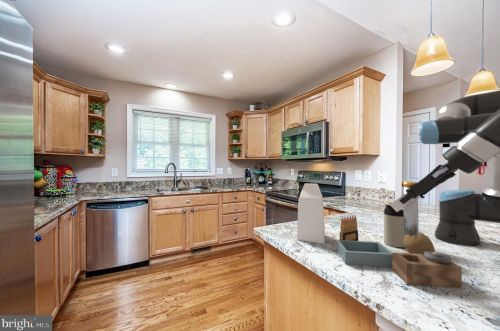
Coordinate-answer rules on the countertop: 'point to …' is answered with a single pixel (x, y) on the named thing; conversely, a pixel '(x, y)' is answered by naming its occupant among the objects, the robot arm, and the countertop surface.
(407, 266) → the block
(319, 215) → the milk
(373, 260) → the tray
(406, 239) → the natural sponge
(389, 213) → the travel mug
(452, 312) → the countertop surface
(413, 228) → the pin
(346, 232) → the ammunition clip
